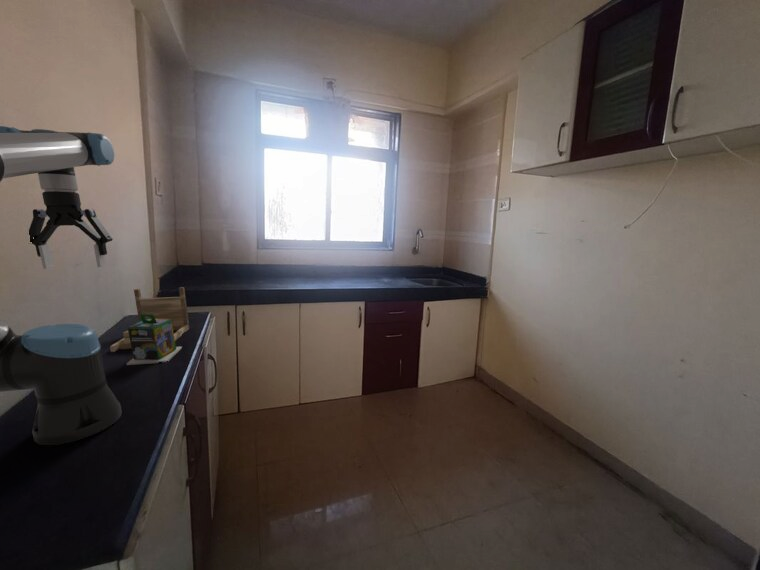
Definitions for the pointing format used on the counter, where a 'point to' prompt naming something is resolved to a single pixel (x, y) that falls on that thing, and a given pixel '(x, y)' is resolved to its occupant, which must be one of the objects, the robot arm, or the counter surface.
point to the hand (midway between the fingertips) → (75, 267)
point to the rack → (162, 312)
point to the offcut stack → (126, 341)
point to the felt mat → (147, 361)
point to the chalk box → (151, 338)
